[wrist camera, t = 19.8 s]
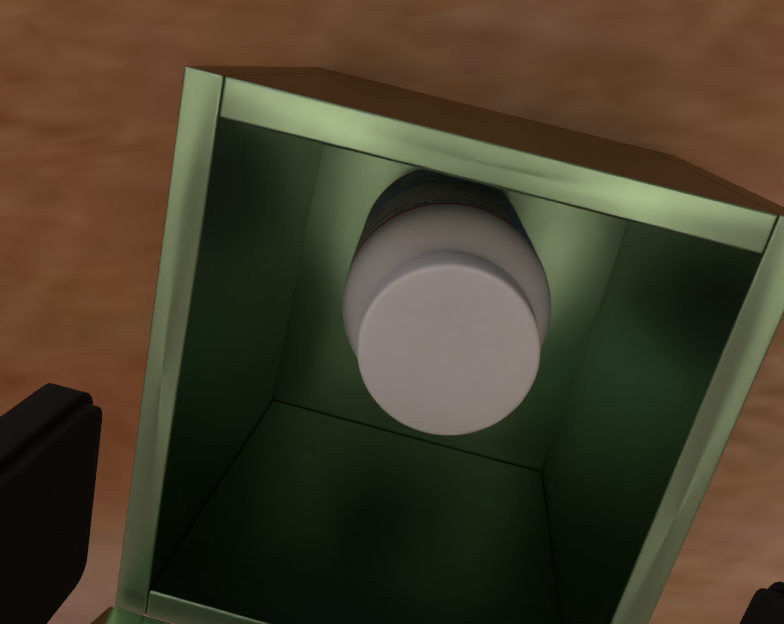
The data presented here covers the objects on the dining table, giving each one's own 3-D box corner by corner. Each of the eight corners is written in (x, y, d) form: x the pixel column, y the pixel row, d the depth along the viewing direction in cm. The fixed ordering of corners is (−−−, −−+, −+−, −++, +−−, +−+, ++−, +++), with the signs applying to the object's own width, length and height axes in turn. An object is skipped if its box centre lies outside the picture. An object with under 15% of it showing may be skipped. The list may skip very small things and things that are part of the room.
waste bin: (318, 66, 28) (183, 65, 16) (671, 154, 28) (823, 225, 15) (255, 403, 33) (113, 607, 21) (554, 484, 33) (596, 745, 20)
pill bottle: (501, 324, 30) (540, 481, 19) (352, 298, 30) (310, 440, 19) (537, 177, 28) (602, 263, 17) (377, 147, 28) (345, 216, 17)
